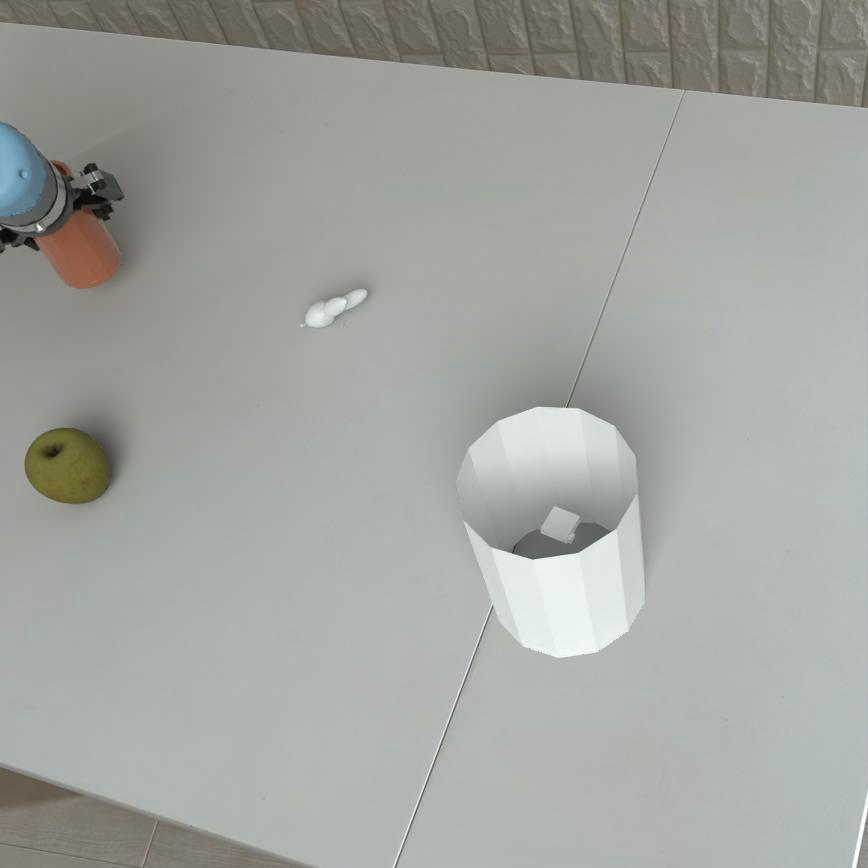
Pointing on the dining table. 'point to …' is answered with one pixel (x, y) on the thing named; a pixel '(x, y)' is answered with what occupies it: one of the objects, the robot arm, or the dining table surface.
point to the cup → (81, 247)
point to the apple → (67, 466)
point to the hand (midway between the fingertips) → (67, 223)
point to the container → (556, 527)
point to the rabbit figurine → (332, 309)
